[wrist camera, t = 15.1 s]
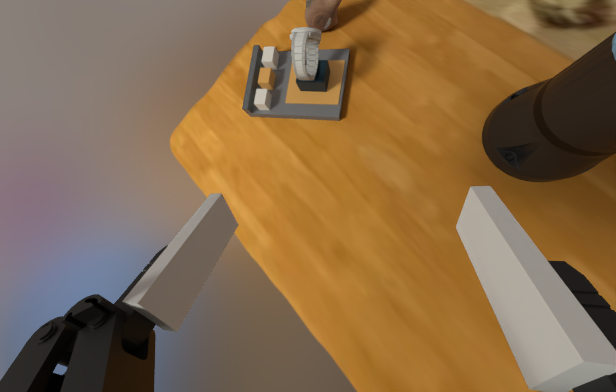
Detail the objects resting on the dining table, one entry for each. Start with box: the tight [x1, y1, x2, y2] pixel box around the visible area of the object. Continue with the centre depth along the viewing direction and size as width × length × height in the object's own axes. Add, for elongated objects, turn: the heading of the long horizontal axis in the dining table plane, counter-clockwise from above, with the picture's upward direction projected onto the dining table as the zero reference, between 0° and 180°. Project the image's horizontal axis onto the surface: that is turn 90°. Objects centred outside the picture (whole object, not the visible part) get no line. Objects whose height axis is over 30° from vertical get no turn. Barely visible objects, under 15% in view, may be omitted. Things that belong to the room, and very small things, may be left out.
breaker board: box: [242, 45, 350, 121], centre depth 44 cm, size 20×14×4 cm
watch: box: [290, 27, 330, 92], centre depth 38 cm, size 6×8×11 cm
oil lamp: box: [305, 0, 342, 31], centre depth 42 cm, size 9×4×8 cm, turn 99°
